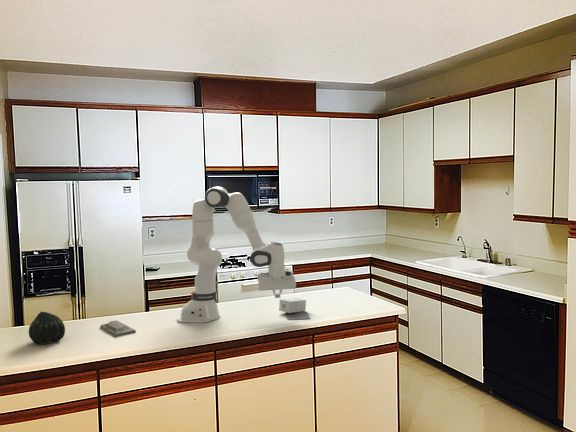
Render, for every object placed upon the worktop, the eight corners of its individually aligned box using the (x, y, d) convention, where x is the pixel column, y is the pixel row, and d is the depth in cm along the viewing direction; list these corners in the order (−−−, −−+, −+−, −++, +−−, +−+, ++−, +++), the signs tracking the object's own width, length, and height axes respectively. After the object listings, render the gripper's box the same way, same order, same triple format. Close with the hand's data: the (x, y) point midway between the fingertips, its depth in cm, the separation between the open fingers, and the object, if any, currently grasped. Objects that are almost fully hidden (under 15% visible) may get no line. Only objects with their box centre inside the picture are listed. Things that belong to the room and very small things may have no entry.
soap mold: (115, 338, 222) (115, 331, 222) (99, 329, 237) (99, 322, 237) (136, 333, 229) (135, 326, 229) (119, 324, 244) (119, 318, 244)
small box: (288, 313, 249) (305, 311, 258) (289, 301, 250) (306, 299, 259) (278, 310, 255) (295, 308, 264) (279, 299, 256) (296, 297, 264)
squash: (67, 332, 214) (61, 304, 221) (30, 340, 206) (26, 311, 213) (66, 345, 224) (61, 318, 231) (31, 354, 216) (26, 325, 223)
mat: (287, 320, 244) (287, 319, 243) (285, 313, 256) (285, 312, 256) (310, 319, 245) (310, 318, 245) (306, 311, 258) (306, 311, 258)
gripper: (257, 274, 244) (258, 300, 245) (296, 272, 246) (296, 297, 247) (257, 271, 250) (257, 297, 251) (294, 270, 252) (295, 294, 253)
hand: (277, 297), depth 249 cm, fingers closed
